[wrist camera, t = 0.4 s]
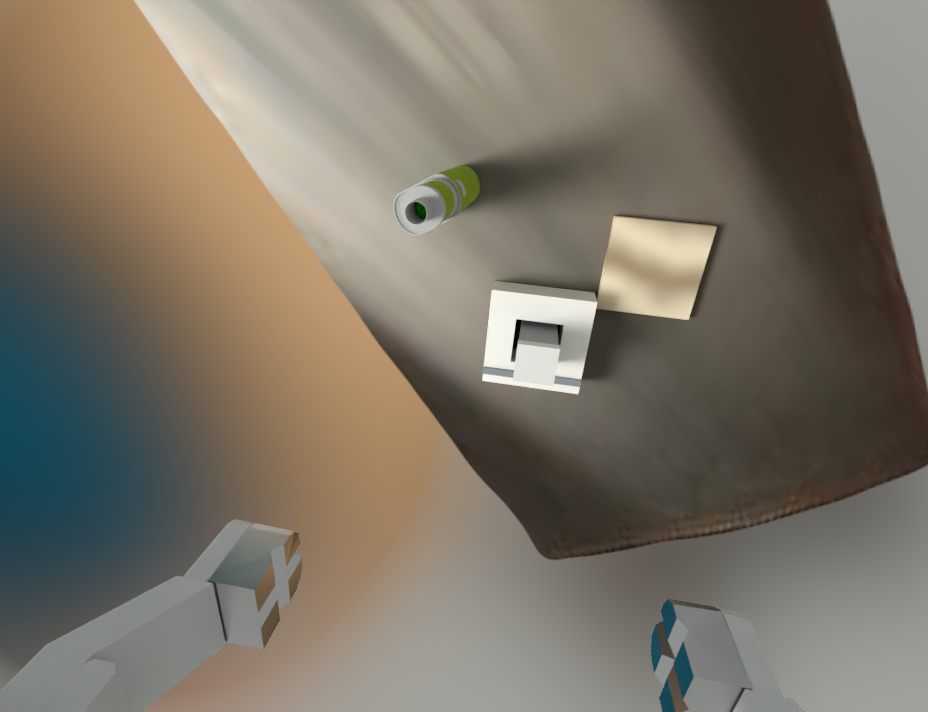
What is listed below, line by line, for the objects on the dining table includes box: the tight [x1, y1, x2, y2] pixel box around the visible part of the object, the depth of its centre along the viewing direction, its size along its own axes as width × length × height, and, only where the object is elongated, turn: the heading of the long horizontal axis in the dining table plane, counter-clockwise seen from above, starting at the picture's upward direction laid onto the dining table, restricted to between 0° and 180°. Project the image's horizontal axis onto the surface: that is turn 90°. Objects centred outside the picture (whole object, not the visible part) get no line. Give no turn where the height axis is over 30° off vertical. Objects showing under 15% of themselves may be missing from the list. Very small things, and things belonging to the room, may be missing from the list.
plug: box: [513, 320, 560, 386], centre depth 51 cm, size 4×4×9 cm
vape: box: [393, 165, 480, 236], centre depth 41 cm, size 4×6×20 cm, turn 116°
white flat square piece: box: [482, 281, 597, 394], centre depth 53 cm, size 11×11×4 cm
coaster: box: [596, 216, 717, 320], centre depth 50 cm, size 10×10×1 cm
